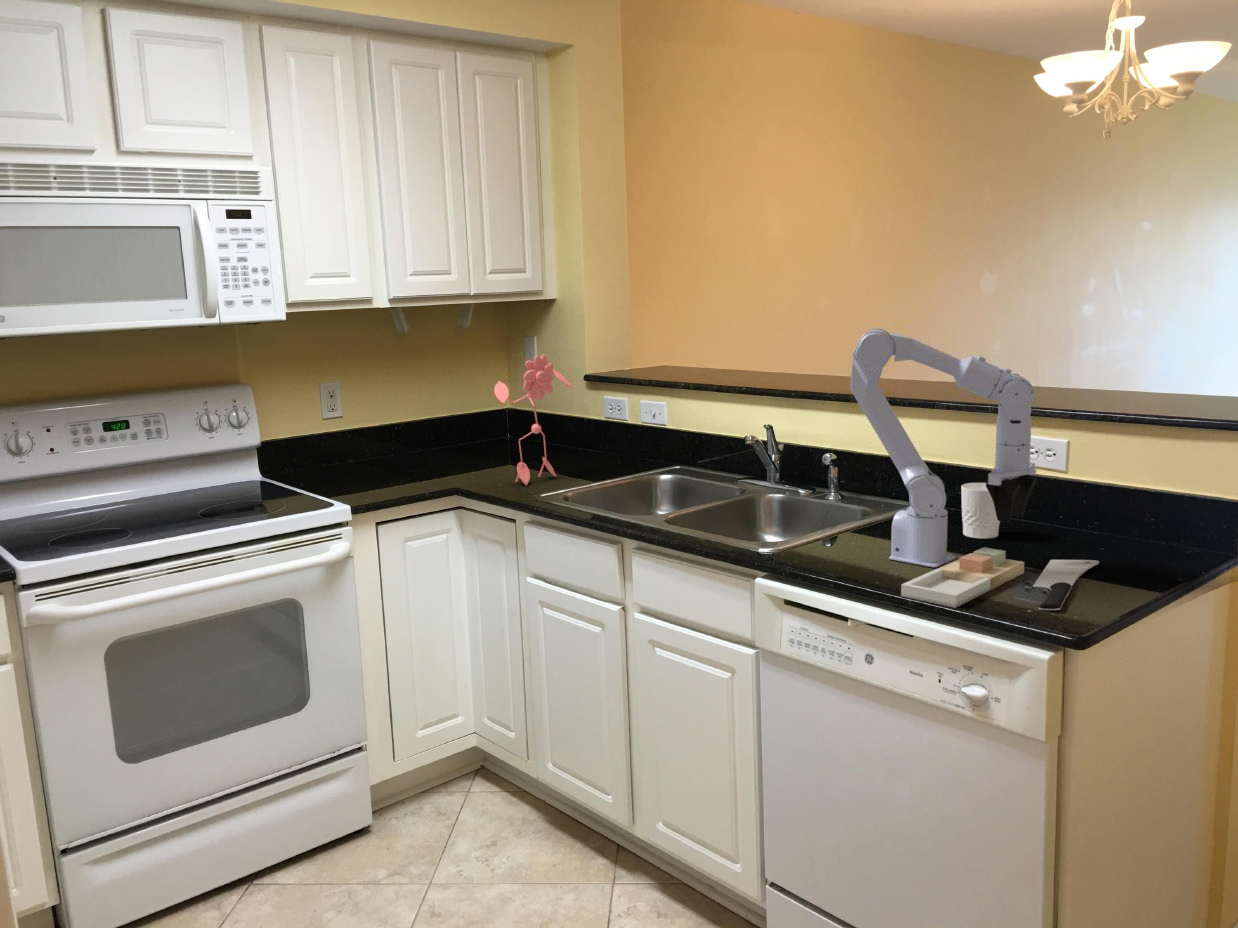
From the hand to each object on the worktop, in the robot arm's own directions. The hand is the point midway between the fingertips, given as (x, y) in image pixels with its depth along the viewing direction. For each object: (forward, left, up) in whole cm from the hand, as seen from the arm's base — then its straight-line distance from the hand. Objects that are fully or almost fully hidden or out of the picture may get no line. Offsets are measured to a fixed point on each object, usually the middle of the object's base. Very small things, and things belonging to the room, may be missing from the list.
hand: (1010, 518), depth 178 cm
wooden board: (0, -11, -8) cm, 13 cm away
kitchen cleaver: (+11, -7, -9) cm, 16 cm away
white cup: (-13, +17, -9) cm, 23 cm away
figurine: (-130, +1, -9) cm, 131 cm away
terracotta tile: (0, -13, -6) cm, 14 cm away
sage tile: (0, -8, -6) cm, 10 cm away
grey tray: (0, -23, -8) cm, 24 cm away
